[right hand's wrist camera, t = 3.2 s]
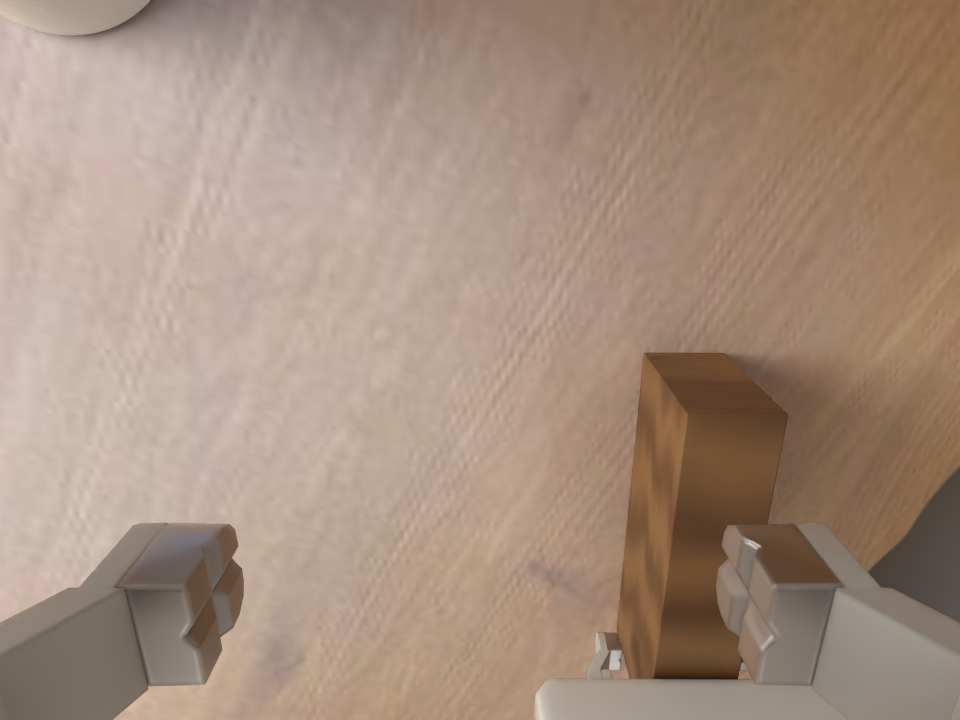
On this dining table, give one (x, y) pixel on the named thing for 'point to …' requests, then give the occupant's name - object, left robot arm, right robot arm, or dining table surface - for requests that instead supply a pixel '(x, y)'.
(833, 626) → the right robot arm
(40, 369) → the dining table surface
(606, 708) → the left robot arm
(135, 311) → the dining table surface
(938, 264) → the dining table surface
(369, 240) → the dining table surface
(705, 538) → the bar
